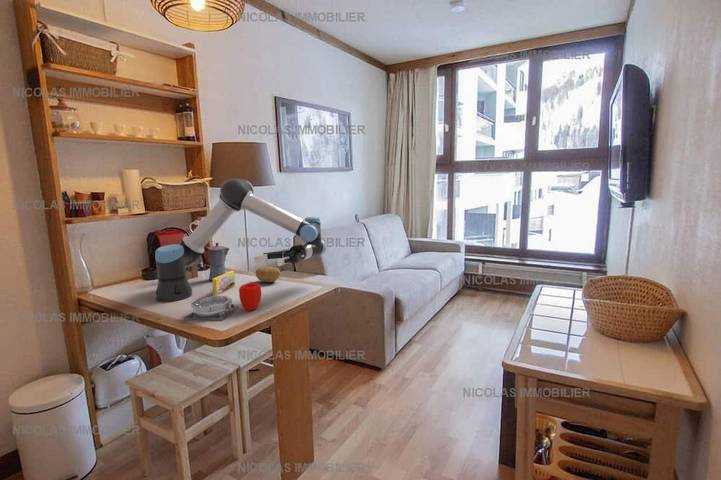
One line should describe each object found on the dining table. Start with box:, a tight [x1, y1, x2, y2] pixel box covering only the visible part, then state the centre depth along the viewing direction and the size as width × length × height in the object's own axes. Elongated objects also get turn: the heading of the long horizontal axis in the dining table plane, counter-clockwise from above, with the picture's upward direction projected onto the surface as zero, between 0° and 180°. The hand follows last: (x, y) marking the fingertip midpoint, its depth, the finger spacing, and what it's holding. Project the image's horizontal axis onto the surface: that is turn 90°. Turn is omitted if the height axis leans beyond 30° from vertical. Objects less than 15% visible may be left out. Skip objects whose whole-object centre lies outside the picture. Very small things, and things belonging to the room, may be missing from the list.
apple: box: [238, 282, 262, 312], centre depth 152 cm, size 9×9×11 cm
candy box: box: [211, 270, 236, 296], centre depth 179 cm, size 16×2×8 cm, turn 168°
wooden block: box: [186, 262, 199, 280], centre depth 203 cm, size 4×11×18 cm, turn 146°
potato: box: [255, 266, 281, 284], centre depth 193 cm, size 10×14×8 cm
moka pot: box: [201, 242, 230, 282], centre depth 199 cm, size 10×15×20 cm, turn 102°
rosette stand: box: [183, 295, 240, 322], centre depth 148 cm, size 15×15×5 cm
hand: (266, 261), depth 157 cm, fingers open, 13 cm apart
